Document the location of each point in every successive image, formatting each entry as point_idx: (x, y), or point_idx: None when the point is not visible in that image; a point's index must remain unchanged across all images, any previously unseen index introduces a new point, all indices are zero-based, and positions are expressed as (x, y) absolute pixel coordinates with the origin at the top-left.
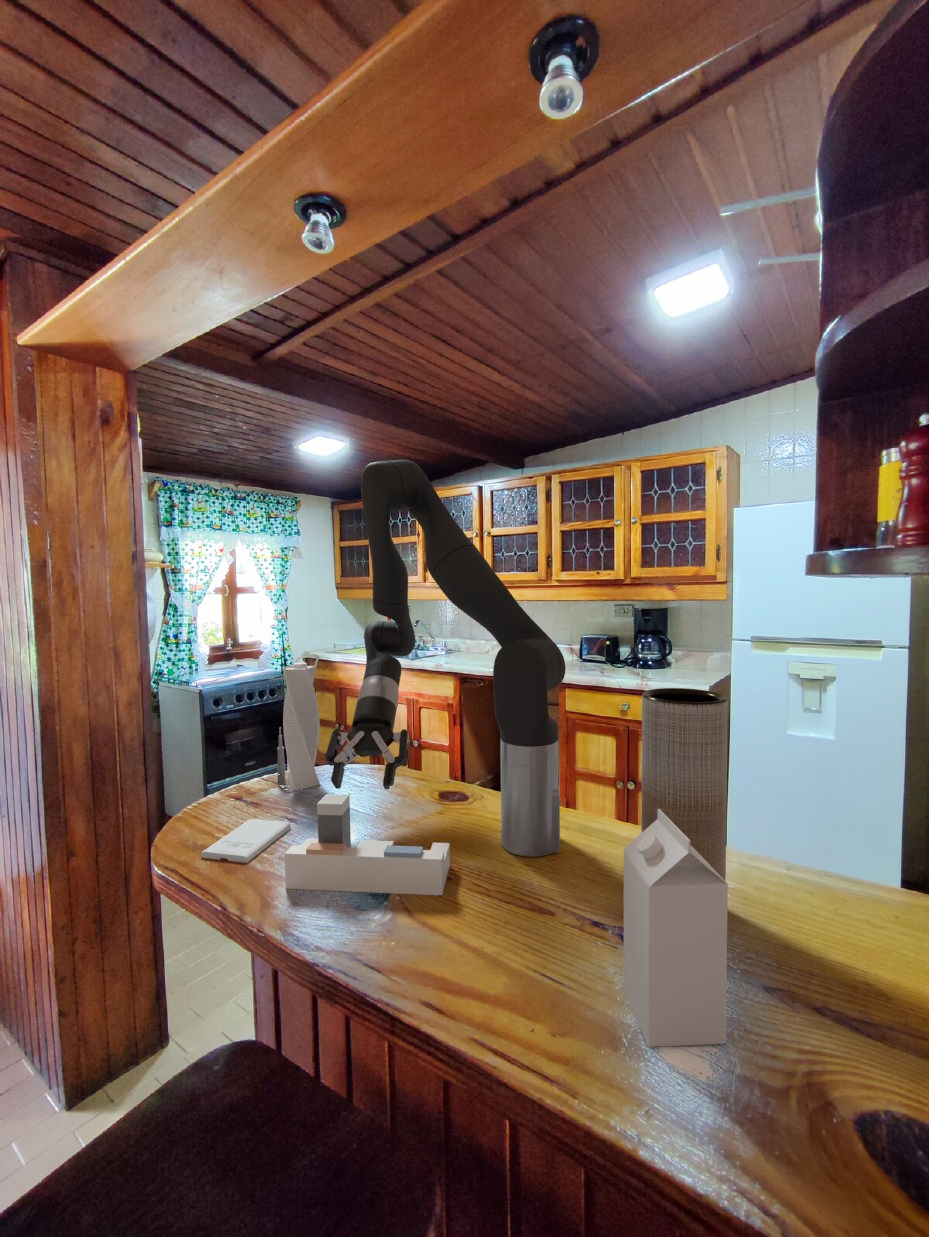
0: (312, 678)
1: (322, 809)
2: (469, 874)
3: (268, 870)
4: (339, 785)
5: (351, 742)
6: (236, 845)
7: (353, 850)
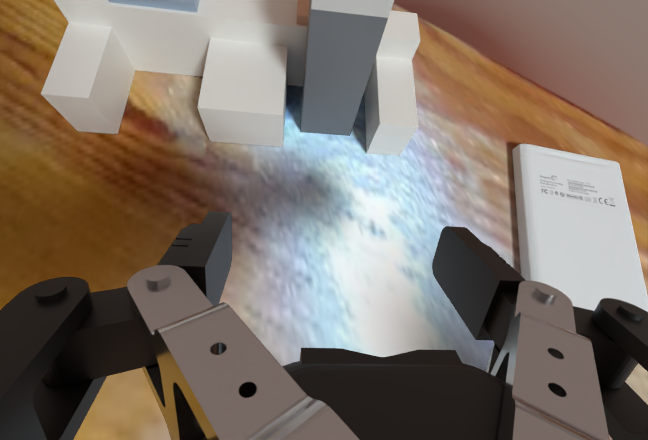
0: None
1: None
2: (37, 101)
3: (455, 124)
4: (439, 259)
5: (575, 385)
6: (574, 187)
7: (275, 14)
